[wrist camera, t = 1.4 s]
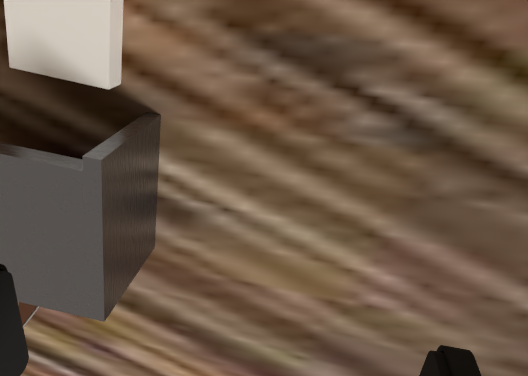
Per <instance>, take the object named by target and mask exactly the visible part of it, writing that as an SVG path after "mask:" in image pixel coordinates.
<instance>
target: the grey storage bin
mask: <svg viewBox="0 0 528 376" xmlns="http://www.w3.org/2000/svg"><path fill="white" fill-rule="evenodd" d="M160 118H161V115H158V114H153V113H148V112H146V113H145V114H143V115H142V116H140V117H139V118H137V119H136V120H134V121H133V122H132V123H130V124H129V125H127V126H126V127H124V128H123V129H121V130H120V131H118V132H117V133H116V134H114V135H113V136H111V137H110V138H108V139H107V140H105V141H104V142H102V143H101V144H100V145H98V146H97V147H95V148H94V149H92V150H91V151H89V152H88V153H86V154H85V155H83V156H82V159H78V158H73V157H68V156H63V155H59V154H54V153H49V152H44V151H39V150H34V149H29V148H25V147H20V146H15V145H10V144H5V143H0V264H3V265H5V266H6V268H7V270H8V272H10V273H11V274H12V277H13V281H14V286H15V291H16V296H17V301H18V302H22V303H26V304H30V305H35V306H39V307H43V308H48V309H52V310H56V311H61V312H65V313H69V314H74V315H78V316H82V317H87V318H91V319H95V320H100V321H105V320H106V318H107V317H108V316H109V314H110V313H111V311H112V310H113V308H114V307H115V305H116V304H117V302H118V301H119V299H120V298H121V296H122V295H123V293H124V292H125V290H126V289H127V287H128V286H129V284H130V283H131V282H132V280H133V279H134V277H135V276H136V274H137V273H138V271H139V270H140V268H141V267H142V265H143V264H144V262H145V261H146V259H147V258H148V256H149V255H150V253H151V252H152V250H153V249H154V248H155V227H156V205H157V183H158V162H159V140H160Z"/></svg>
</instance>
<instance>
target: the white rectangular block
mask: <svg viewBox="0 0 528 376" xmlns="http://www.w3.org/2000/svg"><path fill="white" fill-rule="evenodd" d="M4 9H5V20H6V32H7V43H8V54H9V66H10V68H15V69H19V70H24V71H28V72H32V73H37V74H41V75H46V76H50V77H55V78H59V79H64V80H68V81H73V82H77V83H81V84H86V85H90V86H95V87H99V88H104V89H108V90H109V89H111V88H113V87H116V86H118V85H120V84H121V61H122V26H123V0H4Z"/></svg>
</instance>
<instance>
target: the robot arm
mask: <svg viewBox="0 0 528 376" xmlns="http://www.w3.org/2000/svg"><path fill="white" fill-rule="evenodd" d="M28 358H29V355H28V349H27V345H26V340H25V335H24V330H23V325H22V320H21V315H20V310H19V305H18V301H17V296H16V291H15V286H14V281H13V277H12V274H11V273H10V272H8V270H7V268H6V266H5V265H3V264H0V376H20V375H21V374H22V372H23V371H24V370H25V368H26V366H27V363H28ZM419 376H481V374H480V371H479V368H478V366H477V363H476V360H475V358H474V355H473V354H472V352H471V351H470V350H465V349H460V348H454V347H449V346H443V345H441V346H439V347H438V349H437V351H429V353H428V355H427V357H426V360H425V362H424V365H423V368H422V370H421V373H420V375H419Z"/></svg>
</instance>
